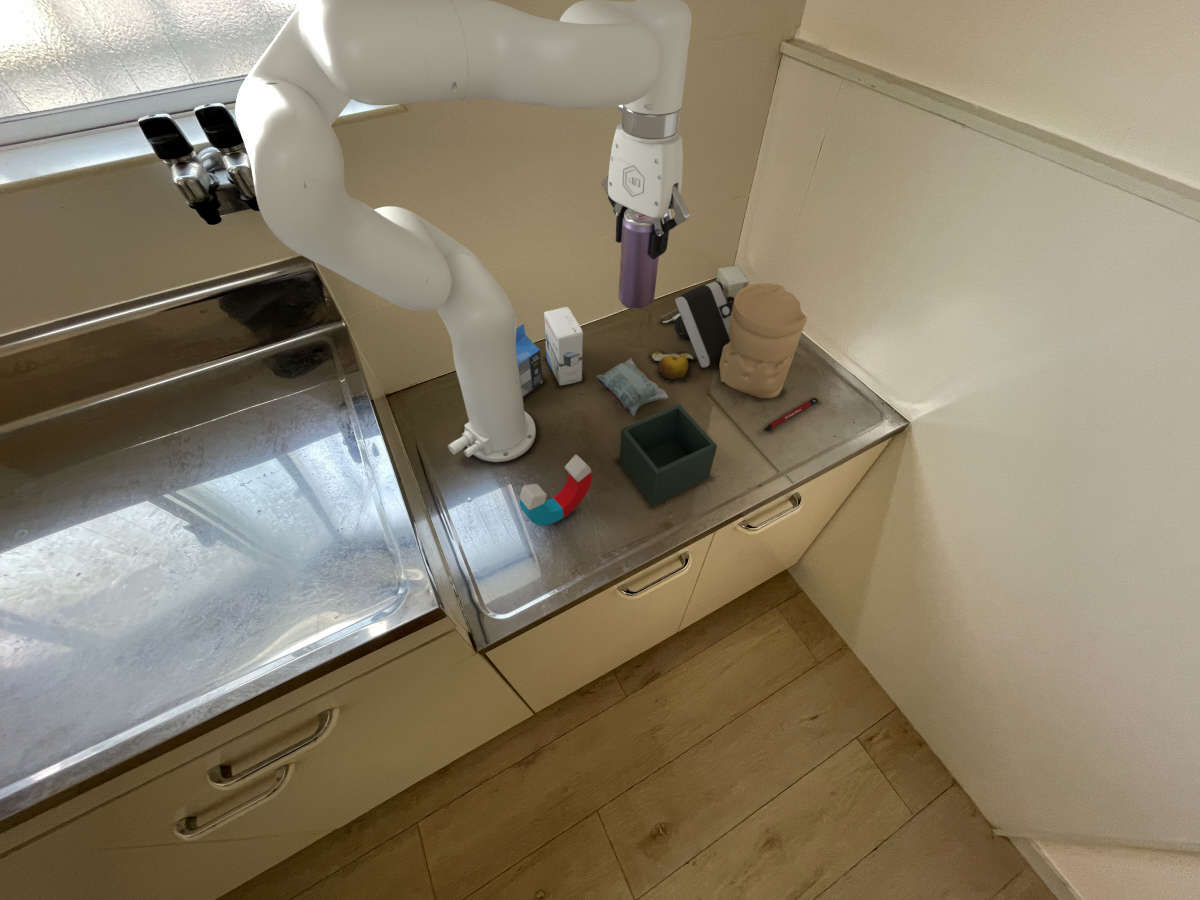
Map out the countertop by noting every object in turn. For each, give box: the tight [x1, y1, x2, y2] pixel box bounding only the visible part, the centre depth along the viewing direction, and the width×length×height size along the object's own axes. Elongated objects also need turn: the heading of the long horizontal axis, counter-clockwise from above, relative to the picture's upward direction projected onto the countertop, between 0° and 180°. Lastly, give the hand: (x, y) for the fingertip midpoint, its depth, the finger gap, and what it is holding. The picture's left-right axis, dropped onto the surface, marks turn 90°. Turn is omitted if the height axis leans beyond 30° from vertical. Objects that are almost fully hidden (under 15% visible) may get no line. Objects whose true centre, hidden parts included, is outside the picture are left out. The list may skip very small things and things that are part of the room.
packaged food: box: [595, 357, 669, 417], centre depth 106 cm, size 9×12×5 cm
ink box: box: [543, 306, 584, 386], centre depth 108 cm, size 9×5×12 cm, turn 22°
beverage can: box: [617, 208, 660, 311], centre depth 89 cm, size 6×6×15 cm
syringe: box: [659, 308, 681, 324], centre depth 123 cm, size 10×2×2 cm
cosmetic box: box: [715, 265, 750, 303], centre depth 117 cm, size 6×4×12 cm
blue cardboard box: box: [516, 323, 544, 398], centre depth 103 cm, size 9×4×12 cm, turn 140°
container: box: [718, 282, 808, 399], centre depth 103 cm, size 13×13×18 cm
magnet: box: [519, 454, 593, 527], centre depth 87 cm, size 12×3×10 cm, turn 129°
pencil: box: [762, 397, 819, 432], centre depth 104 cm, size 1×14×1 cm, turn 125°
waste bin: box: [618, 403, 718, 507], centre depth 93 cm, size 11×10×9 cm
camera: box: [674, 280, 733, 368], centre depth 114 cm, size 15×11×10 cm
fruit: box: [651, 351, 694, 380], centre depth 111 cm, size 8×8×4 cm
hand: (640, 246), depth 87 cm, fingers closed on beverage can, 6 cm apart
